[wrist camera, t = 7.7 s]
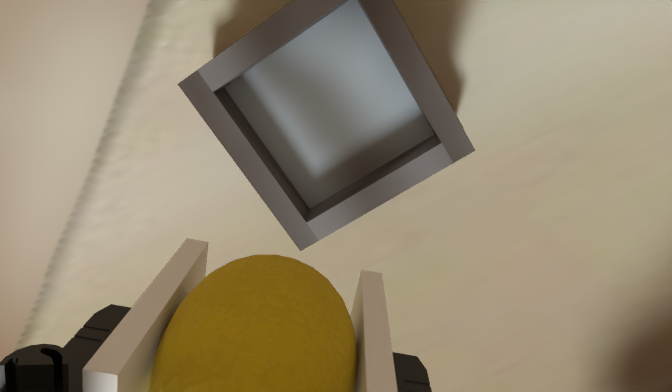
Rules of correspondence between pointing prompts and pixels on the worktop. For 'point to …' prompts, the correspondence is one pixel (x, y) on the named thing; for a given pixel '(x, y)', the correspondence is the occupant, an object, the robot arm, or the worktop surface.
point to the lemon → (258, 333)
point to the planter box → (328, 112)
